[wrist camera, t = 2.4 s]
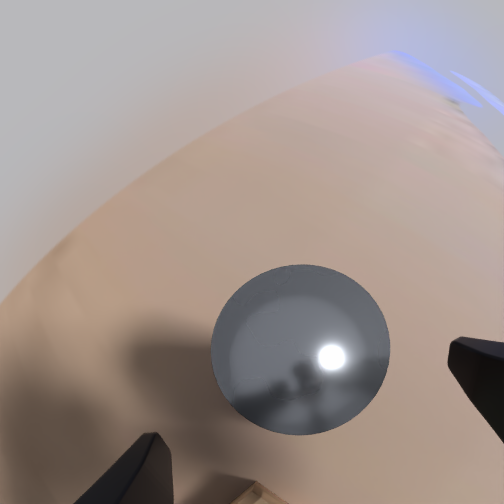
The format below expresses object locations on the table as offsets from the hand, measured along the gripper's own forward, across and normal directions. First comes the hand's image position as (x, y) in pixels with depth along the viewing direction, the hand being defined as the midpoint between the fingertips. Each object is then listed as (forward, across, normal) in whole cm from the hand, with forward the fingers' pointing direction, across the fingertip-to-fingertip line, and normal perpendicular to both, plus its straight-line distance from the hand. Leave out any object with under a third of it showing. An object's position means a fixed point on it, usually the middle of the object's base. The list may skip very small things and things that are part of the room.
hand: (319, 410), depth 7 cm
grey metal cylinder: (+8, 0, +5) cm, 9 cm away
